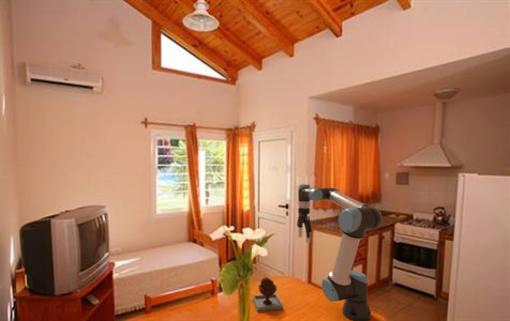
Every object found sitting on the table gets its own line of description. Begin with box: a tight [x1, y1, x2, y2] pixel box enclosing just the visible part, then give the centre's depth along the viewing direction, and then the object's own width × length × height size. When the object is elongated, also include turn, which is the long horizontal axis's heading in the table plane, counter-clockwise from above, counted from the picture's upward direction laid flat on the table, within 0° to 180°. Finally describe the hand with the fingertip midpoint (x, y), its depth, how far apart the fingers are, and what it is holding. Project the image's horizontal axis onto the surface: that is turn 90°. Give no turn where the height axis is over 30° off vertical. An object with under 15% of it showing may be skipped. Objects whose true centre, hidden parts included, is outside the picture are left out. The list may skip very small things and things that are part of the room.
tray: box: [252, 293, 284, 313], centre depth 163 cm, size 15×15×2 cm
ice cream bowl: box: [258, 277, 278, 305], centre depth 164 cm, size 11×11×15 cm
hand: (303, 239), depth 180 cm, fingers open, 13 cm apart
